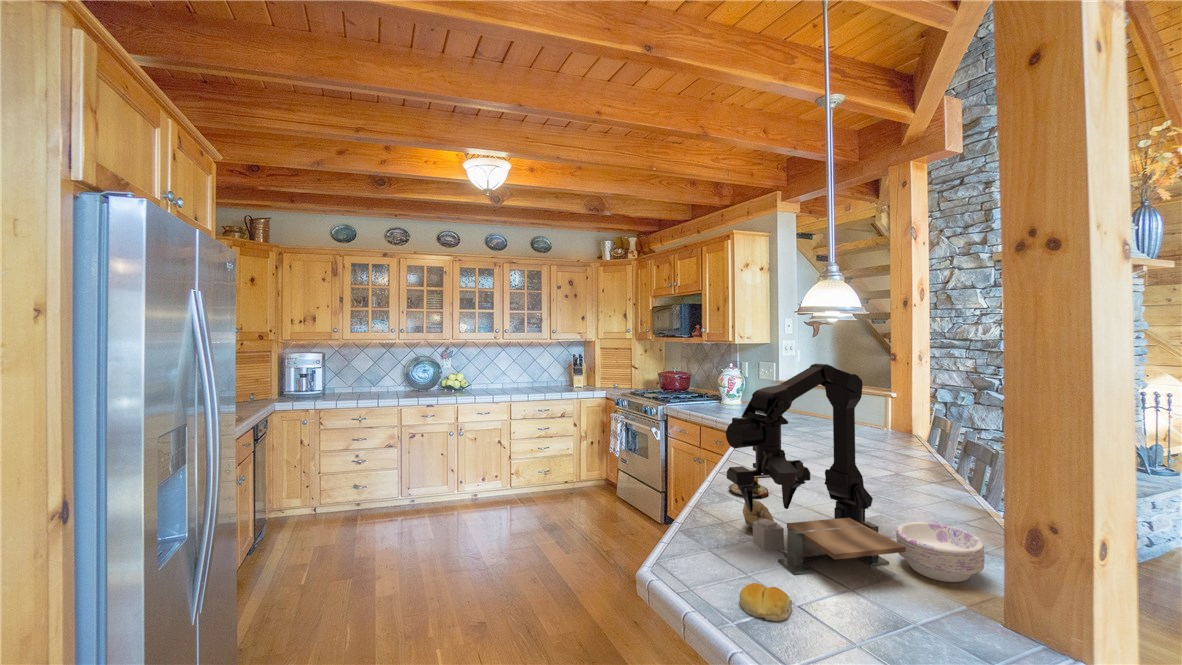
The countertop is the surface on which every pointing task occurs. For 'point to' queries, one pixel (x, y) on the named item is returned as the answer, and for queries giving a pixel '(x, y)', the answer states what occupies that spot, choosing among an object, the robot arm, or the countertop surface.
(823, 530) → the trapdoor
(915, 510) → the countertop surface
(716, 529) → the countertop surface
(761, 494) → the burger
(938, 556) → the paper bowls
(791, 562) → the trapdoor frame
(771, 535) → the gray block
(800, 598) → the countertop surface
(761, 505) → the fossil
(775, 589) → the bread roll
